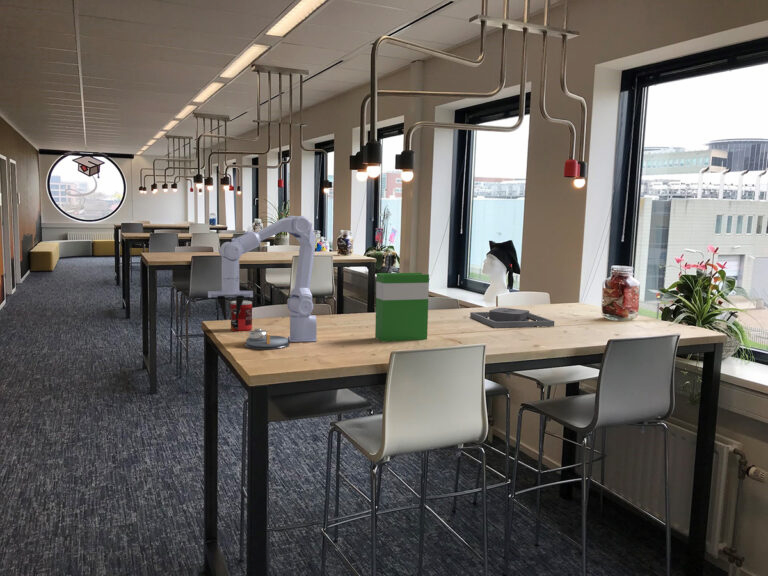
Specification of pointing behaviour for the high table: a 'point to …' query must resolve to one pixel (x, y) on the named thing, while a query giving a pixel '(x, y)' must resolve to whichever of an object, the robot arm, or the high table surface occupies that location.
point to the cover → (257, 335)
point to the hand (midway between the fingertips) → (230, 318)
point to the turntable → (268, 341)
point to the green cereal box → (401, 306)
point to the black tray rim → (540, 322)
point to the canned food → (241, 316)
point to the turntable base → (266, 347)
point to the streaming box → (508, 315)
